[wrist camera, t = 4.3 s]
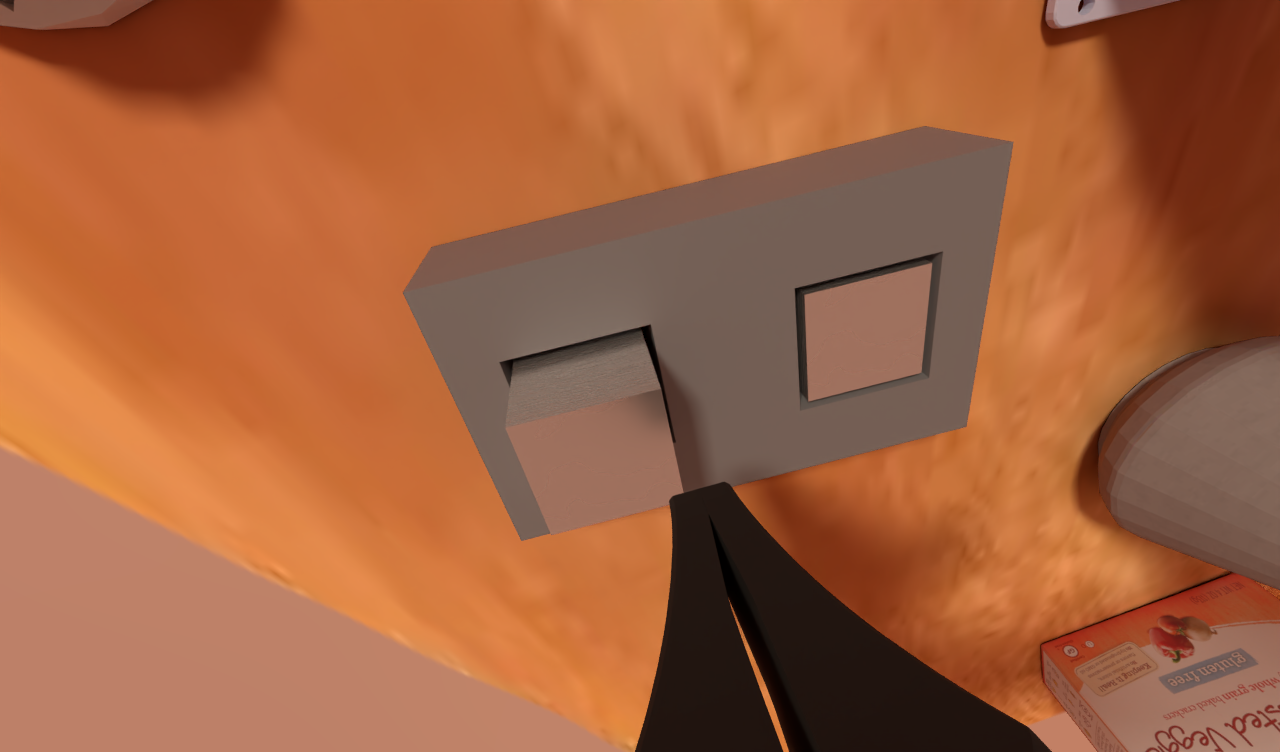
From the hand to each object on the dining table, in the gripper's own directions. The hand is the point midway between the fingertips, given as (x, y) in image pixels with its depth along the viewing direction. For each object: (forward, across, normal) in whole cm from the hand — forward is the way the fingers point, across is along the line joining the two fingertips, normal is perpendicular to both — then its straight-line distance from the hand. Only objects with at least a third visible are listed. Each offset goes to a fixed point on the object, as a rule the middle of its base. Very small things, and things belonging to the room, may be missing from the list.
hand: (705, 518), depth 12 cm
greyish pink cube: (+7, +2, 0) cm, 7 cm away
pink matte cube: (+10, -7, 0) cm, 12 cm away
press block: (+10, -2, 0) cm, 10 cm away
